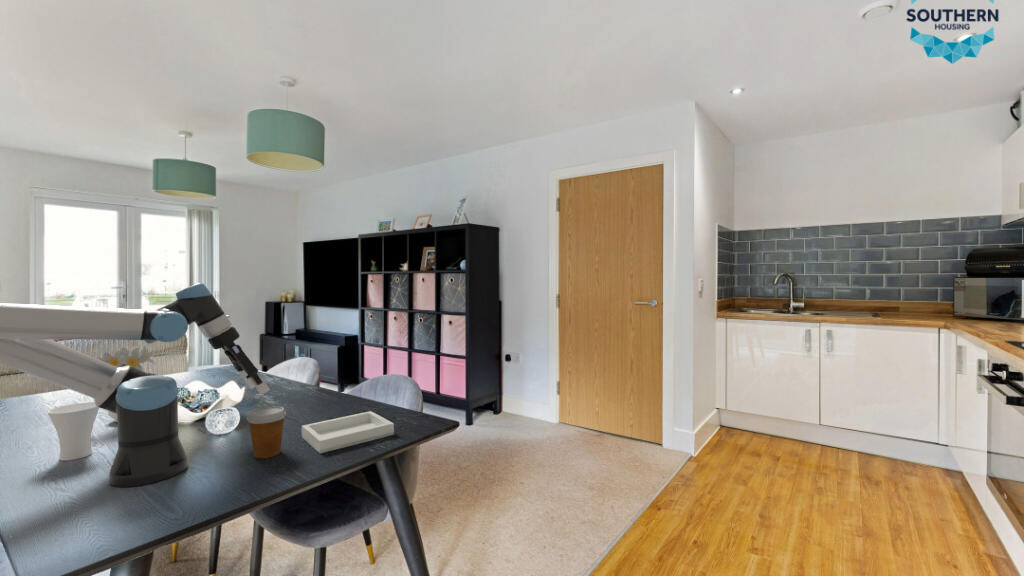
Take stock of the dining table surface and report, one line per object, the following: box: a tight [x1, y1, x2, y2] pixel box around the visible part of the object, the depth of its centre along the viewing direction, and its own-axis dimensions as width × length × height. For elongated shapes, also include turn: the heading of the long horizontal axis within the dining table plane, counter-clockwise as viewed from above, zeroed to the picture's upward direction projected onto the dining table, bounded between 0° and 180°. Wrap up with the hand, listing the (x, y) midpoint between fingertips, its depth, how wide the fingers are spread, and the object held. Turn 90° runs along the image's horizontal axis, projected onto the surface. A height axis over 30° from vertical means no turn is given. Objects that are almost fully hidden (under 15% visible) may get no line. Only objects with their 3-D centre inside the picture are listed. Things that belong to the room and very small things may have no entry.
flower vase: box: [102, 345, 157, 423], centre depth 153 cm, size 13×18×25 cm
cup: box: [46, 401, 100, 462], centre depth 122 cm, size 10×10×14 cm
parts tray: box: [301, 411, 395, 454], centre depth 136 cm, size 22×17×4 cm
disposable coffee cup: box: [246, 406, 287, 459], centre depth 123 cm, size 10×10×12 cm
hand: (260, 389), depth 138 cm, fingers open, 13 cm apart
